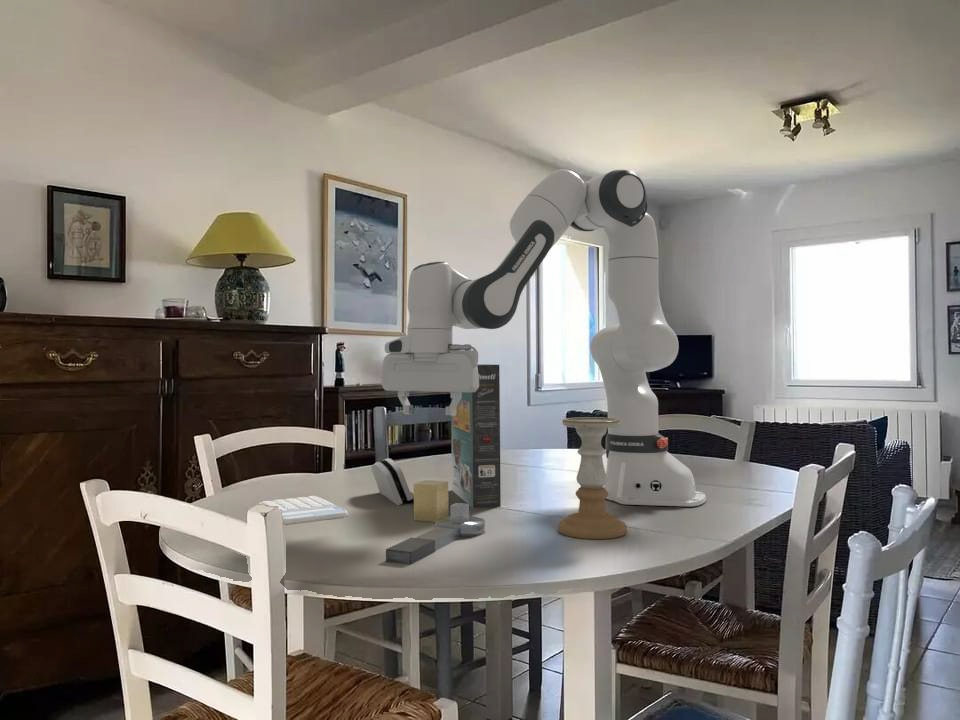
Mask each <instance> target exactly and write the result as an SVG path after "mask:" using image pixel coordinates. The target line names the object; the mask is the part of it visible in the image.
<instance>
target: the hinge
mask: <svg viewBox="0 0 960 720" xmlns="http://www.w3.org/2000/svg"><path fill="white" fill-rule="evenodd" d="M370 468H371V471H372V474H373V477H374V480H375V483H376V486H377V488H378V492H379V493H380V494H381V495H383V496H384V497H386V498H387V499H388V500H390V501H391V502H392V503H394V504H395V505H397V506H399V505H403V502H404V501H408V502H409V501H411V500H412V501H413V502H414V492H412V491H410V488H409V485H408V483H407V481H406V477H405V474H404V472H403V470H402V469H401V467H400V466H399V464H397V463H396V462H395V461H394V460H393V459H392V458H390V457H388V458H383V459H381V461H376V462H375V463H374V464H372V465H371V467H370Z"/></svg>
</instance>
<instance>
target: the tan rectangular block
mask: <svg viewBox="0 0 960 720" xmlns="http://www.w3.org/2000/svg"><path fill="white" fill-rule="evenodd" d="M413 493H414V501H413V520H414V521H419V522H433V523H435V521H436V520H437V519H440V518H444V517H450V516H449V481H447V480H446V481H444V480H431V479H425V480H422V481H419V482H415V483H413Z"/></svg>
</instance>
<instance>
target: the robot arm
mask: <svg viewBox="0 0 960 720" xmlns="http://www.w3.org/2000/svg"><path fill="white" fill-rule="evenodd" d="M647 197H648V196H647V190H646V187H645V184H644V182H643V180H642V178H641V177H640V176H639V174H638V173H636V172H635V171H634V170H630V169H614V170H611V171H609V172H606V173H603V174H600V175H596V176H594V177H591V178H590V179H589V180H587V181H583V179H582V178H581V176H579V175H578V174H577V173H575V172H574V171H573V170H572V171H571V170H569V169H564V168H560V169H557V170H554V171H552V172H551V173H549V174H548V175H547V176H546V177H545V178H543V180H541V181H540V182H539V183H538V184H537V185H535V186H534V188H533V189H532V190H531V191H530V192H529V193H528V194H527V195H526V197H525V198H524V199H523V200H522V201H521V202H520V203H519V205H518V206H517V208H516V209H515V210H514V213H513V215H512V216H511V219H510V221H509V231H510V234H511V236H512V238H513V240H514V241H515V243H514V244H513V246H512V247H511V249H510V250H509V251H508V253H507V254H506V256H504V257H503V260H502V261H501V262H500V264H499V265H498V266H497V267H496V269H495V270H493V271H492V272H489V274H485V275H484V276H481V277H479V278H476V279H472V278H470V277H467V276H466V275H463V274H461V273H460V272H458V271H457V270H455V269H454V268H453V267H452V266H451V265H450V263H449V262H446V261H432V262H427V263H423V264H419V265H418V266H414V268H413V269H412V270H411V271H410V275H409V280H408V287H407V288H408V289H407V311H408V314H409V320H408V323H407V327H406V328H407V331H406V332H407V333H406V335H402V336H401V337H398V338H395V339H393V340H389V341H387V342H386V343H385V344H384V352H385V353H386V355H385V356H384V357H383V360H382V363H381V364H382V366H381V375H380V376H381V379H380V380H381V381H380V383H381V387H382V388H383V389H384V391H388V392H389V391H390V392H391V391H392V392H397V398H398V399H399V401H400V404H401V405H402V413H403V415H414V413H415V411H414V409H415V407H414V405H413V404H411V403H410V401H409V399H408V397H410V392H426V393H427V392H428V393H429V392H433V393H435V392H436V393H450V399H451V398H453V400H452V402H451V401H450V405H449V406H445V408H444V409H445V410H444V411H445V414H444V415H445V416H446V417H451V416H456V407H457V405H458V404H459V402H460V400H461V398H462V392H467V393H470V392H476V391H477V389H478V388H479V375H478V367H477V364H479V352H478V350H477V348H475V347H474V346H472V345H471V344H469V343H468V344H466V343H465V344H457V343H456V344H453V327H458V328H460V329H465V330H476V329H478V330H479V329H485V330H486V329H487V330H495V329H496V330H497V329H500V328H503V327H504V326H506V325H507V324H508V323H509V322H510V321H511V320H512V319H513V317H514V316H515V313H516V311H517V309H518V305H519V301H520V297H521V295H522V292H523V291H524V289H525V287H526V285H527V284H528V283H529V282H530V279H531V278H532V276H533V275H534V274H535V272H536V271H537V270H538V268H539V267H540V265H541V264H542V262H543V261H544V260H545V258H546V256H547V254H548V253H549V252H550V250H551V249H552V248H553V246H554V245H556V243H557V242H558V241H559V240H560V238H562V236H563V235H564V234H565V232H566V231H567V230H568V229H569V227H571V228H573V229H574V230H576V231H579V232H593V231H595V230H599V229H600V230H601V229H603V230H604V231H605V234H606V237H607V239H608V253H607V255H608V257H607V259H608V261H607V266H608V267H607V294H608V297H609V299H610V300H611V302H612V303H613V304H614V307H615V309H616V313H617V317H618V321H619V322H618V323H615V324H610V325H608V326H606V327H604V328H602V329H600V330H598V331H597V332H596V333H595V334H594V336H593V337H592V339H591V342H590V346H589V347H590V356H591V357H592V359H593V361H594V362H595V363H596V364H597V366H598V368H599V372H600V375H601V378H602V382H603V386H604V390H605V393H606V394H605V395H606V405H607V418H616V419H620V420H621V424H620V425H619V426H617V427H610V428H607V432H606V434H605V435H606V436H605V451H606V453H605V456H606V460H607V461H606V469H605V472H606V475H607V482H606V484H605V485H604V486H603V487H604V488H605V489H606V491H607V492H608V493H609V495H608V497H607V498H606V499H605V500H609V501H613V502H615V503H618V504H620V505H631V506H632V505H633V506H634V505H635V506H636V505H637V506H638V505H639V506H661V507H662V506H663V507H664V506H665V507H697V506H701V505H703V504H704V503H705V502H706V500H707V497H706V494H705V493H704V492H702V491H697V490H696V489H697V488H696V483H695V478H694V475H693V473H692V471H691V469H690V468H689V467H688V466H687V465H685V464H684V463H683V462H681V461H680V460H679V459H678V458H676V457H675V456H673V454H671V453H670V452H668V449H669V438H668V437H665V436H663V435H662V434H660V433H659V399H658V397H657V396H656V394H655V393H654V392H653V390H652V389H651V387H650V384H649V381H648V377H647V373H650V372H651V373H652V372H655V371H659V370H661V369H664V368H667V367H669V366H671V364H673V362H674V361H675V360H676V359H677V356H678V354H679V349H680V347H679V345H680V344H679V340H678V336H677V334H676V332H675V331H674V329H672V328H671V326H670V325H669V324H668V321H667V320H666V318H665V315H664V311H663V308H662V303H661V300H660V291H659V289H660V288H659V287H660V286H659V285H660V284H659V281H660V280H659V243H658V233H657V227H656V223H655V220H654V218H653V216H652V215H650V214H649V213H647V210H648V201H647Z"/></svg>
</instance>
